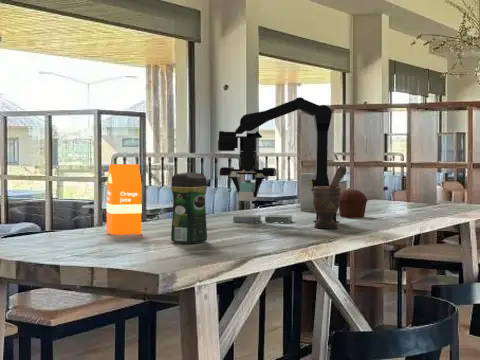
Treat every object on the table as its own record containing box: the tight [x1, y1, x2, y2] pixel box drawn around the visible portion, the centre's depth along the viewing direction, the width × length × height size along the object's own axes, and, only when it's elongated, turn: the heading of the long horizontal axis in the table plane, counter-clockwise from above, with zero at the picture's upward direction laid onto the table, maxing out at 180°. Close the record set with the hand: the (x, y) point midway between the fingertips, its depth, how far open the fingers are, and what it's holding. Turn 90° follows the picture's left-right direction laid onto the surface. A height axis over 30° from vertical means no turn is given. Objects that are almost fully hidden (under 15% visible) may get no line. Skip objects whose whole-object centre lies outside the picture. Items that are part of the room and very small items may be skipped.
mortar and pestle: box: [313, 165, 347, 230], centre depth 249 cm, size 12×9×20 cm
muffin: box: [338, 189, 369, 219], centre depth 292 cm, size 12×11×10 cm
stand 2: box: [264, 214, 293, 224], centre depth 269 cm, size 8×8×2 cm
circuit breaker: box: [299, 172, 316, 212], centre depth 320 cm, size 8×14×15 cm, turn 174°
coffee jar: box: [170, 172, 208, 245], centre depth 209 cm, size 10×8×19 cm
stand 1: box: [232, 214, 262, 224], centre depth 268 cm, size 8×8×2 cm
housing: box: [238, 179, 258, 202], centre depth 267 cm, size 7×5×7 cm
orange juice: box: [106, 163, 143, 235], centre depth 230 cm, size 8×9×20 cm
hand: (247, 197), depth 268 cm, fingers closed on housing, 5 cm apart
